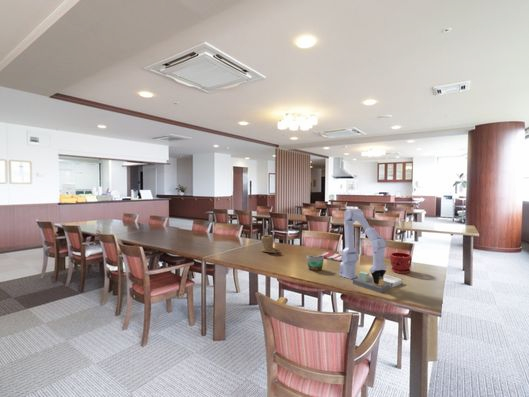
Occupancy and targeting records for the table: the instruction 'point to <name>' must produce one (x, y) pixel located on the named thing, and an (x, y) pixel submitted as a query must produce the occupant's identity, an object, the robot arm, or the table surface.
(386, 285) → the grey flat slab
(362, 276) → the fuse
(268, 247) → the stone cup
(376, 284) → the fuse
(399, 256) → the plant pot
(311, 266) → the food container
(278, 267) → the table surface
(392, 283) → the parts tray
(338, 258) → the dish towel
